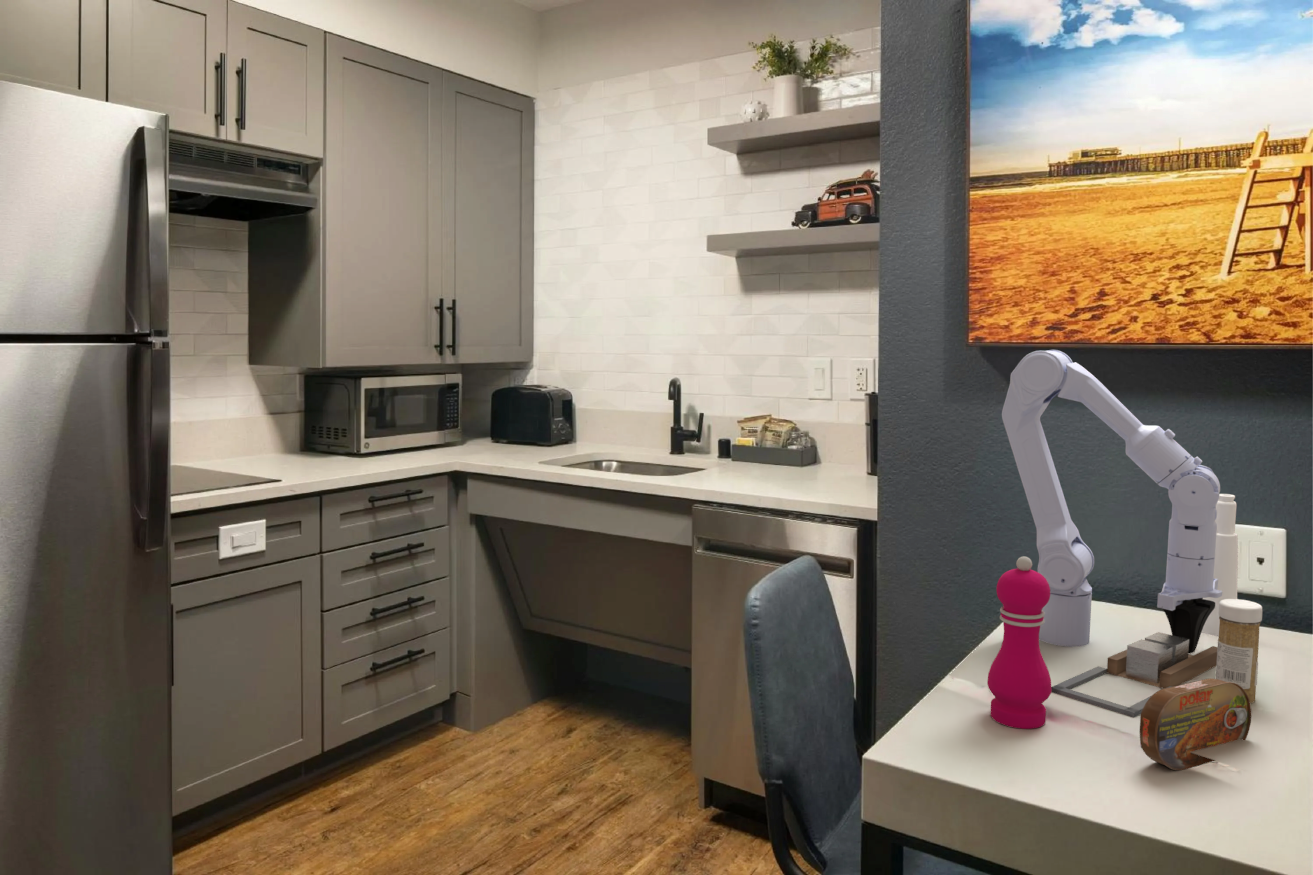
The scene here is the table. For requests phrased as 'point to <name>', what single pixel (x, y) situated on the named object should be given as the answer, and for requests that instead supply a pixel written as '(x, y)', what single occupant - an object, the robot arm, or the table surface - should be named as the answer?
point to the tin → (1193, 721)
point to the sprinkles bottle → (1239, 644)
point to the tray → (1085, 677)
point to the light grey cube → (1148, 660)
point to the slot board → (1172, 674)
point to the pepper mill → (1020, 650)
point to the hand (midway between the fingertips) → (1184, 650)
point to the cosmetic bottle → (1224, 559)
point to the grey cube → (1172, 645)
